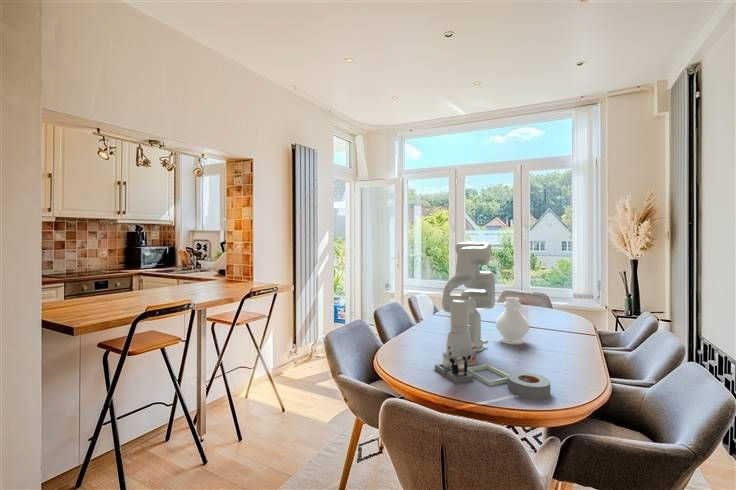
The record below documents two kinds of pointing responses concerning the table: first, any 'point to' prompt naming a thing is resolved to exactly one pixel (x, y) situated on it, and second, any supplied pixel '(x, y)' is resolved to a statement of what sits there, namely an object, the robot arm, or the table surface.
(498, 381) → the parts tray
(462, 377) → the fuse holder
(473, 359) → the teacup with lid
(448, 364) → the cylinder
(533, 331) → the table surface
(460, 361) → the fuse
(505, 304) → the decorative vase
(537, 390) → the tape roll
